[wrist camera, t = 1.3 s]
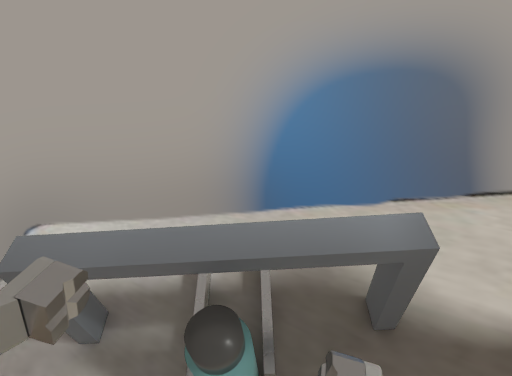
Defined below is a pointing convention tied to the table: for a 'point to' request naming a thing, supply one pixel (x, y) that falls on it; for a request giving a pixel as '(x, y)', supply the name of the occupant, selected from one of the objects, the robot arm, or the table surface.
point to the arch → (243, 256)
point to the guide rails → (267, 321)
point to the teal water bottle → (219, 344)
